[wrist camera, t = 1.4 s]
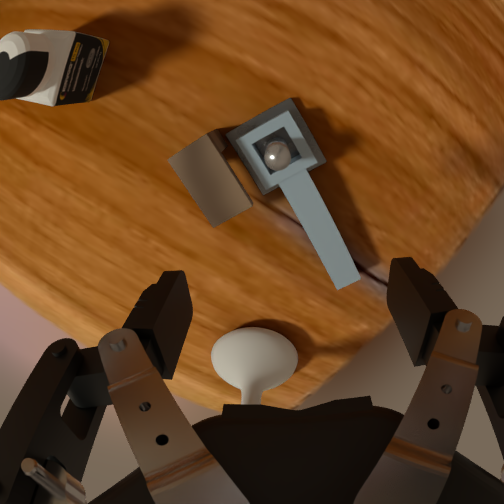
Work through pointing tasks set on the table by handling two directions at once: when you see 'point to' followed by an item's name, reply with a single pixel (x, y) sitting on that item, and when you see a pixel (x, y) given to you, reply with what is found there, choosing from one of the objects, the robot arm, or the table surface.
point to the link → (302, 197)
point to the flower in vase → (254, 361)
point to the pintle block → (276, 142)
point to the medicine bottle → (50, 66)
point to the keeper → (211, 178)
